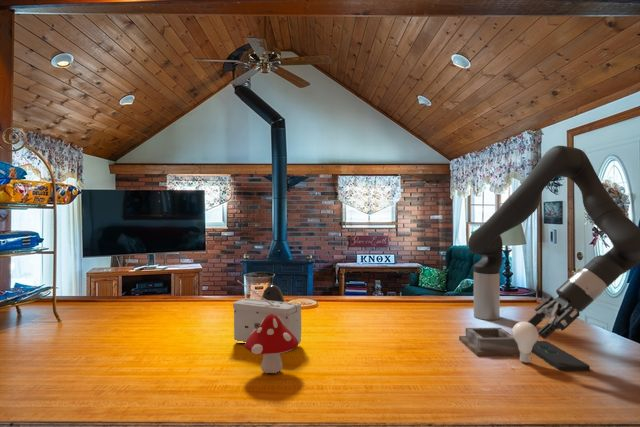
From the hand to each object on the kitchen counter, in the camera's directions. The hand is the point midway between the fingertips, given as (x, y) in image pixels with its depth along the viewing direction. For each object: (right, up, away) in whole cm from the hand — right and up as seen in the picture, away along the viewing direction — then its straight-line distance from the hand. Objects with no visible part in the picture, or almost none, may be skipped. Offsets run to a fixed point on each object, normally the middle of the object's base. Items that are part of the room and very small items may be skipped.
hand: (534, 330), depth 106 cm
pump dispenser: (-75, -9, +33) cm, 82 cm away
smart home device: (+8, -9, +5) cm, 13 cm away
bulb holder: (-6, -9, +12) cm, 16 cm away
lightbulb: (-2, -9, 0) cm, 9 cm away
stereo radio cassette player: (-74, -9, +16) cm, 77 cm away
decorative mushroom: (-70, -9, -5) cm, 71 cm away
